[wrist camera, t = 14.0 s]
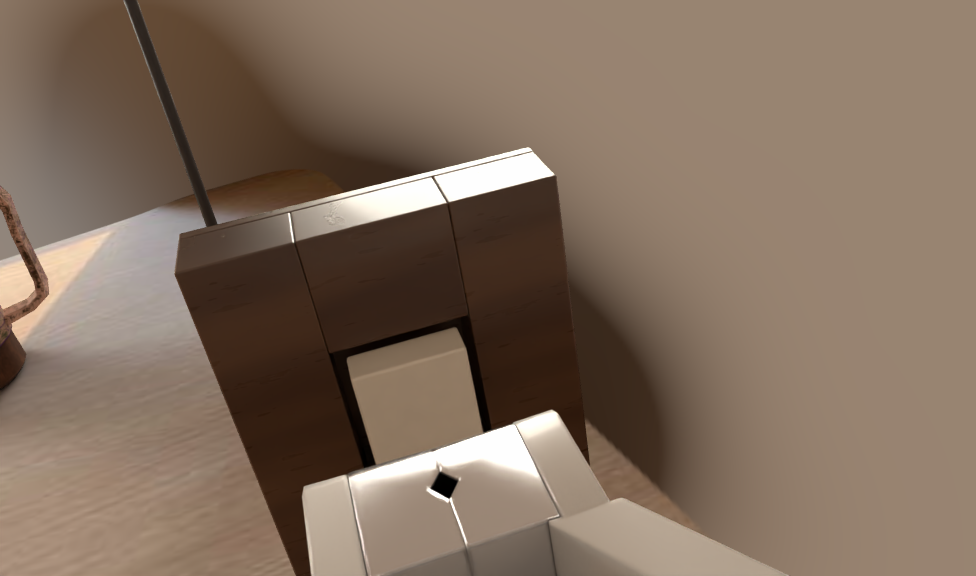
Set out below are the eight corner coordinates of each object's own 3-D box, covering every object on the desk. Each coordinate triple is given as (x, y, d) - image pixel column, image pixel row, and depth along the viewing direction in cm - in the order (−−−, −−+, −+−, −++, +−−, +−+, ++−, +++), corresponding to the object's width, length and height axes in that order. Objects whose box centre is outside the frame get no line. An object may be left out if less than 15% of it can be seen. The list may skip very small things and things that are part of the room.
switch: (490, 466, 24) (466, 347, 22) (385, 498, 24) (351, 380, 22) (480, 441, 25) (456, 325, 23) (379, 472, 25) (345, 355, 23)
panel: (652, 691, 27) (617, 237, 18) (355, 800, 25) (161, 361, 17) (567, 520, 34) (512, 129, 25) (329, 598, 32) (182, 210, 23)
